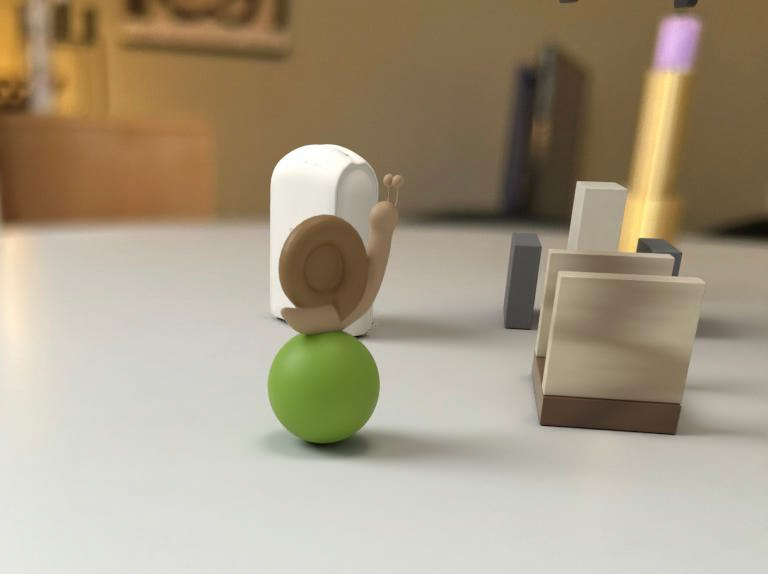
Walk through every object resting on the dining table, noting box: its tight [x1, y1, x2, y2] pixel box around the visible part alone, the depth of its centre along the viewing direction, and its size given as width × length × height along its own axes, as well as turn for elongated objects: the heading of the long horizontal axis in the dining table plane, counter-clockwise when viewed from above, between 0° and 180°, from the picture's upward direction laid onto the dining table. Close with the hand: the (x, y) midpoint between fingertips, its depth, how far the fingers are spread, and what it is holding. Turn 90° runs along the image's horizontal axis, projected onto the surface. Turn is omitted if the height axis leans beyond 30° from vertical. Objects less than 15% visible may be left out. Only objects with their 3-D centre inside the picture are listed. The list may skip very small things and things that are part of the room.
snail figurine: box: [267, 173, 404, 444], centre depth 47 cm, size 5×6×12 cm
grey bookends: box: [502, 231, 683, 330], centre depth 78 cm, size 12×9×6 cm
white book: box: [566, 180, 629, 252], centre depth 77 cm, size 3×8×10 cm, turn 170°
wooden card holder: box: [531, 248, 707, 435], centre depth 56 cm, size 7×12×8 cm, turn 170°
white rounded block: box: [269, 143, 379, 337], centre depth 73 cm, size 10×4×12 cm, turn 29°
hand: (627, 5), depth 69 cm, fingers open, 8 cm apart
